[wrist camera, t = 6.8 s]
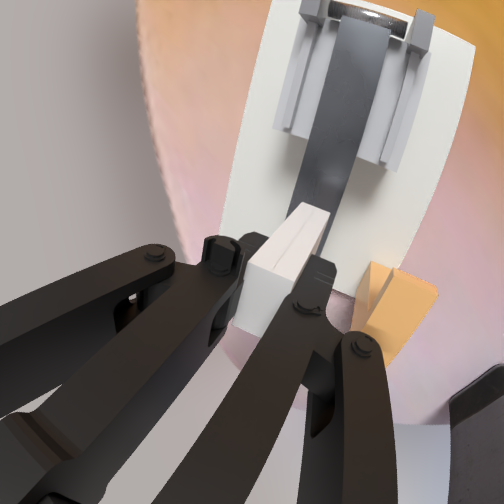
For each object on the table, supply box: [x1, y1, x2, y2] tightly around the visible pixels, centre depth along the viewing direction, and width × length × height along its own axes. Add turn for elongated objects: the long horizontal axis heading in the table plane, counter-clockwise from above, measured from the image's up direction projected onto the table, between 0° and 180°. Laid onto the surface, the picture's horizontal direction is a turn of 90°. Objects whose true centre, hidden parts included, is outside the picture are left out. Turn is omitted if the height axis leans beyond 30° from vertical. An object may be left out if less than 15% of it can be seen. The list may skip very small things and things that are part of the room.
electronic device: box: [448, 364, 504, 504], centre depth 16 cm, size 9×6×20 cm, turn 152°
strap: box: [285, 0, 408, 257], centre depth 15 cm, size 17×4×1 cm, turn 167°
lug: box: [350, 261, 439, 369], centre depth 19 cm, size 6×3×8 cm, turn 167°
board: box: [219, 0, 476, 298], centre depth 18 cm, size 24×16×8 cm, turn 167°
